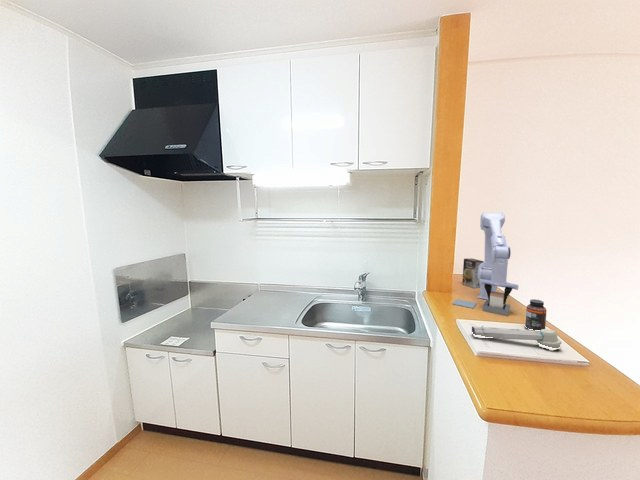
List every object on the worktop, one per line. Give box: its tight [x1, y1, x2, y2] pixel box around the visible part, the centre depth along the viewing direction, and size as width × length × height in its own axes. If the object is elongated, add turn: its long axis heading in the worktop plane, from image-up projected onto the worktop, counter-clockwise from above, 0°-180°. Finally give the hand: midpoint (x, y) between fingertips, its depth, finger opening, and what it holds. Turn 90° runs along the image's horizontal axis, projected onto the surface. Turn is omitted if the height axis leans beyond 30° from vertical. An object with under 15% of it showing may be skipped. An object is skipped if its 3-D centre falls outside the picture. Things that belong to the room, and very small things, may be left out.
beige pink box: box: [489, 291, 504, 309], centre depth 121 cm, size 5×5×8 cm
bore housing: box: [482, 299, 511, 317], centre depth 121 cm, size 10×10×2 cm
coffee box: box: [461, 258, 485, 289], centre depth 160 cm, size 9×6×16 cm
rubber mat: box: [451, 298, 478, 309], centre depth 130 cm, size 9×9×1 cm
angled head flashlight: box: [471, 325, 562, 348], centre depth 92 cm, size 5×7×25 cm
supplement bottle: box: [524, 298, 547, 330], centre depth 101 cm, size 6×6×11 cm
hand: (496, 302), depth 121 cm, fingers closed on beige pink box, 5 cm apart
